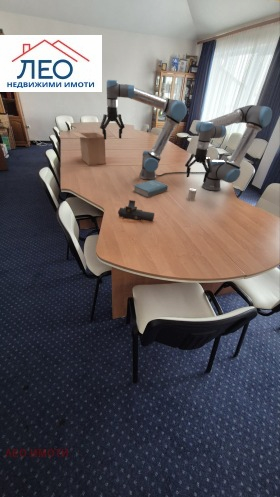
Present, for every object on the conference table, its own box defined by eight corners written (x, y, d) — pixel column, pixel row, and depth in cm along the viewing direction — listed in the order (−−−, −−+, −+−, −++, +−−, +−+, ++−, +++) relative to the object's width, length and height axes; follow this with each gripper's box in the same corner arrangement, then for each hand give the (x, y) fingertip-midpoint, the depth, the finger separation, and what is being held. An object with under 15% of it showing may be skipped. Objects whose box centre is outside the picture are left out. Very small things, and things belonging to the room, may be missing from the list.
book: (152, 185, 190) (153, 179, 187) (167, 191, 181) (167, 185, 178) (133, 191, 176) (133, 185, 173) (147, 198, 167) (148, 191, 164)
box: (116, 165, 229) (116, 136, 213) (83, 168, 214) (80, 137, 198) (102, 154, 259) (101, 128, 243) (71, 156, 244) (68, 129, 228)
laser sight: (151, 225, 135) (153, 210, 129) (116, 219, 138) (116, 205, 132) (154, 218, 142) (155, 203, 137) (120, 212, 145) (120, 198, 139)
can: (189, 197, 174) (192, 187, 169) (195, 199, 171) (198, 189, 166) (185, 199, 171) (187, 189, 166) (191, 201, 167) (193, 191, 163)
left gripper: (99, 106, 151) (100, 140, 164) (129, 107, 164) (128, 138, 176) (94, 105, 156) (96, 138, 169) (124, 106, 168) (123, 136, 181)
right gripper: (183, 145, 152) (178, 176, 165) (217, 152, 140) (209, 185, 153) (188, 144, 157) (183, 173, 170) (222, 151, 145) (213, 182, 158)
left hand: (112, 138), depth 173 cm, fingers open, 13 cm apart
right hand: (195, 179), depth 161 cm, fingers open, 13 cm apart
